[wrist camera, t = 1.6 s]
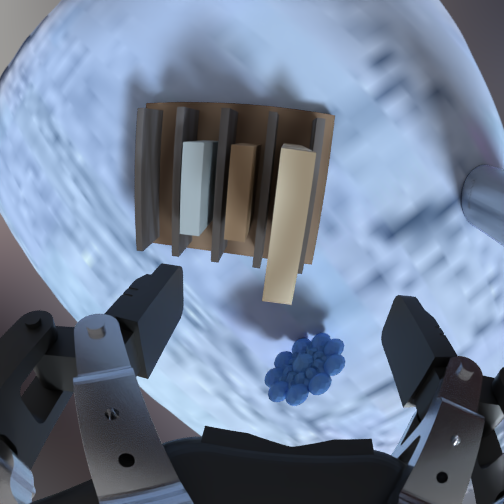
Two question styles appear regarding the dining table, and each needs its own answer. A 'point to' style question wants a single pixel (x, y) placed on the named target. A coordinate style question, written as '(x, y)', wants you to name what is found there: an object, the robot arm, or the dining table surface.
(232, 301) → the dining table surface
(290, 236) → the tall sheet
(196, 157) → the offcut grey
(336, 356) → the grapes
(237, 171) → the offcut oak
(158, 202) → the rack
